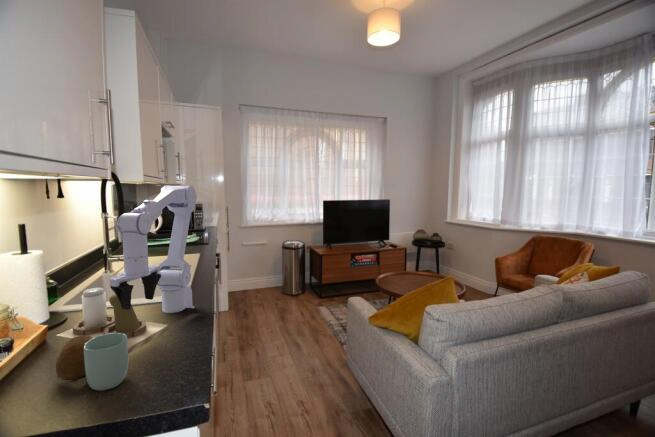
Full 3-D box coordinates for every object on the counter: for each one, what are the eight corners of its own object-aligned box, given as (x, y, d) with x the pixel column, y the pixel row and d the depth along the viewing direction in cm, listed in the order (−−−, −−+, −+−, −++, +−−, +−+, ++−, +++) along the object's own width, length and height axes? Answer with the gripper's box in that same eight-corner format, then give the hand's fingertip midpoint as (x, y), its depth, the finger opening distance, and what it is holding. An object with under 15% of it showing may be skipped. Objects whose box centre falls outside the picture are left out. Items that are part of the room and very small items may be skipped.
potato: (112, 355, 79) (110, 322, 78) (95, 383, 68) (92, 345, 67) (71, 361, 76) (69, 327, 75) (47, 391, 65) (44, 352, 64)
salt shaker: (97, 321, 94) (95, 286, 93) (112, 324, 93) (110, 288, 92) (78, 329, 89) (76, 292, 88) (93, 332, 87) (91, 294, 86)
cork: (130, 332, 84) (120, 294, 84) (110, 336, 85) (100, 298, 85) (145, 323, 90) (136, 287, 90) (127, 327, 91) (117, 291, 91)
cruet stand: (103, 319, 99) (103, 310, 99) (168, 329, 93) (168, 320, 93) (56, 340, 86) (55, 330, 85) (128, 353, 79) (128, 342, 79)
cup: (80, 400, 62) (77, 353, 61) (92, 378, 69) (89, 336, 68) (126, 390, 65) (123, 346, 64) (132, 370, 72) (130, 330, 71)
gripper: (124, 263, 77) (126, 315, 78) (167, 251, 91) (169, 296, 92) (102, 261, 78) (105, 312, 80) (148, 250, 92) (150, 294, 94)
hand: (138, 303), depth 86 cm, fingers open, 7 cm apart
